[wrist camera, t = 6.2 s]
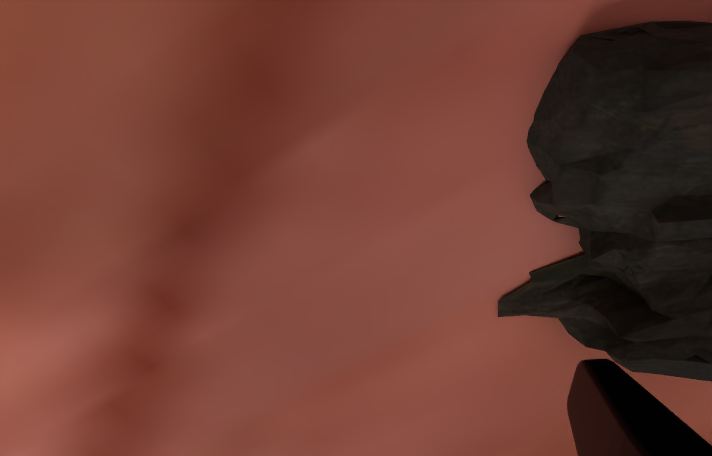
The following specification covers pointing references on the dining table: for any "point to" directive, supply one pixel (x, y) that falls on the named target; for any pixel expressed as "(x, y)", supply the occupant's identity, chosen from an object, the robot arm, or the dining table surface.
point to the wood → (630, 196)
